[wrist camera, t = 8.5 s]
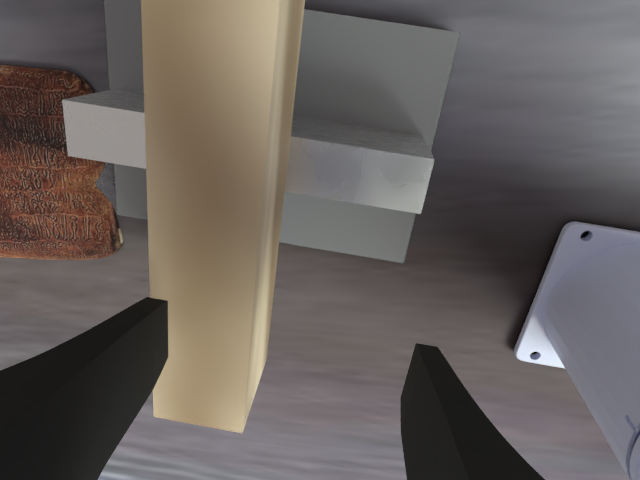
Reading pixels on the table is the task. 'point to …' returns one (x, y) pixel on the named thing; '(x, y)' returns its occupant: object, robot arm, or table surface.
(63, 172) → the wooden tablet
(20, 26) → the table surface
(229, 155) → the maple bar
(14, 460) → the robot arm
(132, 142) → the steel ridge
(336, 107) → the grey slab
